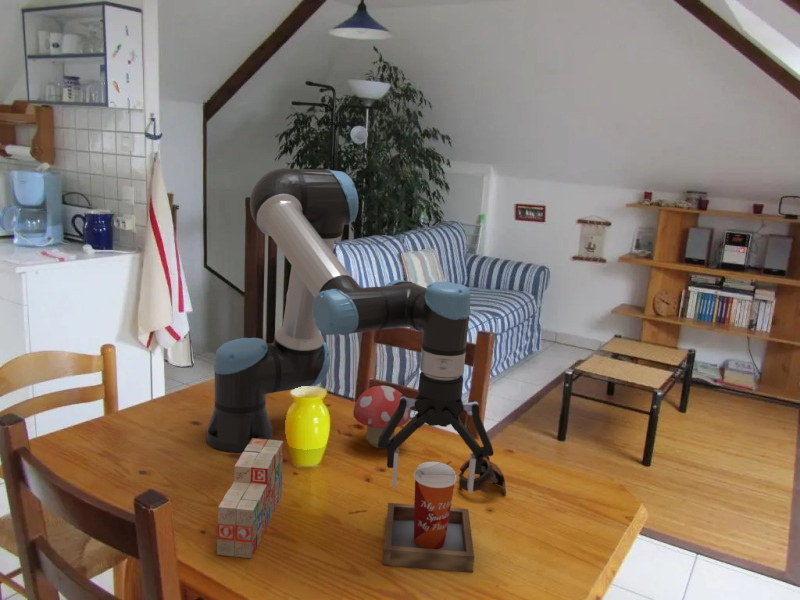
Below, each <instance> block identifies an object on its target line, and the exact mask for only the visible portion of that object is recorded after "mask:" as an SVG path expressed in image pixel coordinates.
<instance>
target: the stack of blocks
mask: <svg viewBox="0 0 800 600" xmlns="http://www.w3.org/2000/svg"><path fill="white" fill-rule="evenodd" d="M283 463H284V440H276V439H272V440H267V439H255V438H253V439H252V440H251V441H250V443H249V444H248V445H247V447H246V448H245V450H244V452H241V454H240V456H239V458H238V460H237V461H236V463H235V465H234V474H233V480H234V481H233V482H232V485H231V486H230V488H229V489H228V490H227V491H226V493H225V495H224V496H223V499H222V500H221V502H220V503H219V505H218V506H217V508H218V509H217V515H218V516H217V525H216V527H217V529H216V534H217V535H216V540H217V541H216V548H217V549H216V555H217V556H218V555H219V556H228V557H236V558H244V559H245V558H246V559H247V558H248V559H252V558H253V556H254V554H255V551H256V550H257V548H258V546H259V544H260V543H261V540H262V538H263V536H264V534H265V532H266V530H267V527H268V525H269V523H270V521H271V518H272V516H273V515H274V513H275V511H276V509H277V507H278V505H279V503H280V501H281V499H282V498H283V469H284V468H283V467H284V464H283Z"/></svg>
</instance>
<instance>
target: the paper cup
mask: <svg viewBox="0 0 800 600" xmlns="http://www.w3.org/2000/svg"><path fill="white" fill-rule="evenodd" d="M413 479H414V504H413V505H414V541H415V543H416V544H417V545H418V546H419V547H421V548H425V549H439V548H441V547H442V546H443V545H444V542H445V538H446V532H447V526H448V520H449V514H450V508H452V500H453V495H454V494H453V493H454V488H455V484H456V483H457V482H458V481H457V474H456V471H455V470H454V468H452V467H451V466H450V465H448V464H445V463H443V462H439V461H426V462H422V463H420V464H419V465H418V466H417V467H416V470H415V471H414V472H413Z"/></svg>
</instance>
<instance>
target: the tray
mask: <svg viewBox="0 0 800 600" xmlns="http://www.w3.org/2000/svg"><path fill="white" fill-rule="evenodd" d="M386 510H387V511H386V520H385V521H386V522H385V532H384V540H383V541H384V542H383V543H384V544H383V554H382V566H392V567H402V568H403V567H404V568H405V567H406V568H417V569H426V570H427V569H431V570H439V571H441V570H443V571H453V572H455V571H456V572H467V573H473V571H474V563H475V552H474V543H473V537H472V529H471V519H470V512H469V508H461V507H451V508H450V514H449V520H448V526H447V532H446V538H445V542H444V545H443V546H442V547H441V548H439V549H425V548H421V547H419V546H418V545H417V544H416V543H415V541H414V504H410V503H409V504H408V503H396V502H387V509H386Z"/></svg>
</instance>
